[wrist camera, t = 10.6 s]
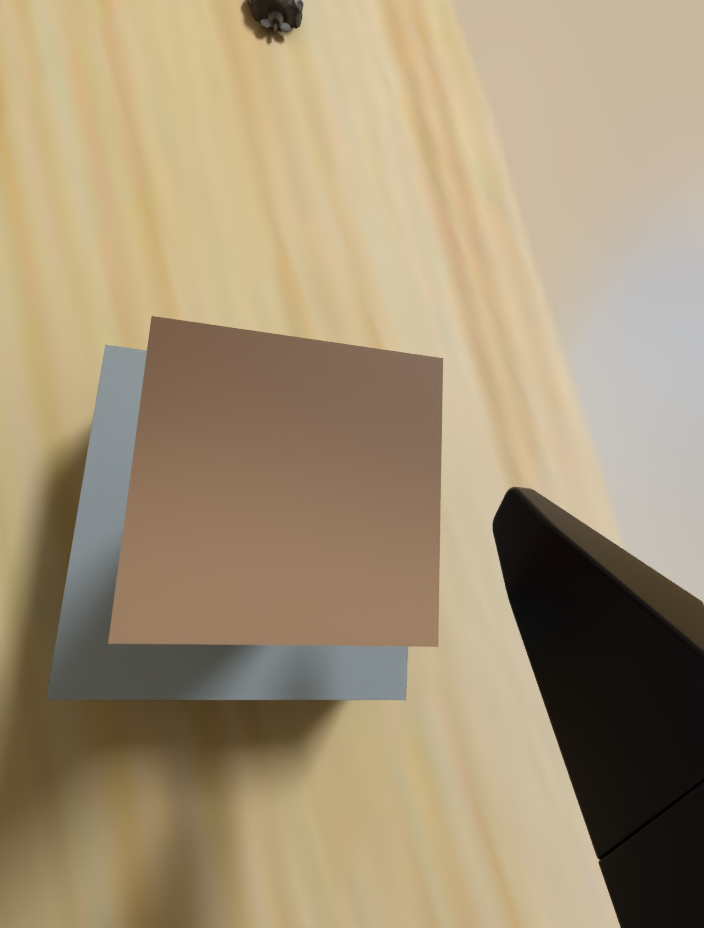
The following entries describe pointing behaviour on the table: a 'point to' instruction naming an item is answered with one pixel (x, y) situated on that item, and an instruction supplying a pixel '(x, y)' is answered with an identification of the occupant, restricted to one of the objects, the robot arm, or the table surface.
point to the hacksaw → (277, 13)
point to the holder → (175, 665)
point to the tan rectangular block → (281, 493)
